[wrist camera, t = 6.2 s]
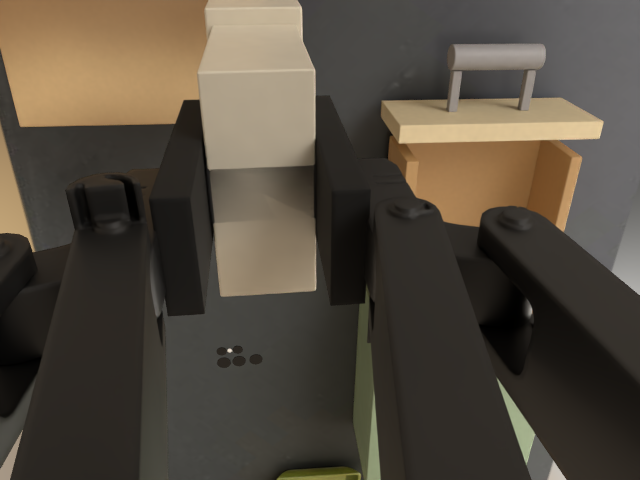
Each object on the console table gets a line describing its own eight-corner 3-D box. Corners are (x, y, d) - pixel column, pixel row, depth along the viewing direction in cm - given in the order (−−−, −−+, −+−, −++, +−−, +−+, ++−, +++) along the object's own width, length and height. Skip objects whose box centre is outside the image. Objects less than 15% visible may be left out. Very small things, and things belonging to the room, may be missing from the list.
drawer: (385, 36, 38) (406, 54, 33) (574, 35, 39) (622, 52, 34) (368, 293, 48) (382, 336, 43) (520, 285, 49) (550, 326, 44)
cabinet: (360, 274, 48) (378, 330, 42) (525, 267, 50) (567, 319, 43) (352, 423, 57) (365, 488, 50) (493, 412, 58) (523, 475, 52)
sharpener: (209, -5, 20) (184, 48, 12) (295, -6, 20) (324, 45, 12) (226, 180, 23) (214, 313, 15) (298, 176, 24) (323, 306, 16)
